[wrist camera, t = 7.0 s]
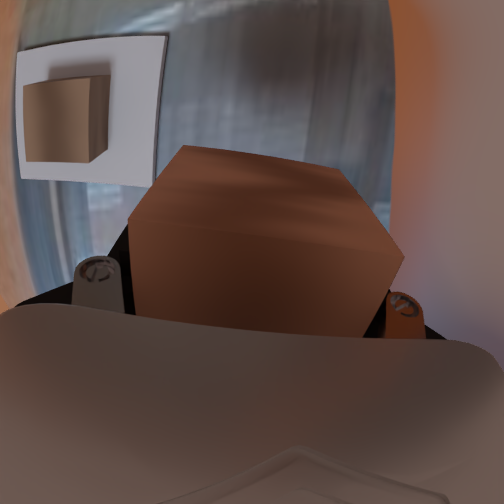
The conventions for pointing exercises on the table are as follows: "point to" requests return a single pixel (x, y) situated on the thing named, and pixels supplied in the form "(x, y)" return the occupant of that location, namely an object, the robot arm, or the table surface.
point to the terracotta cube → (258, 246)
